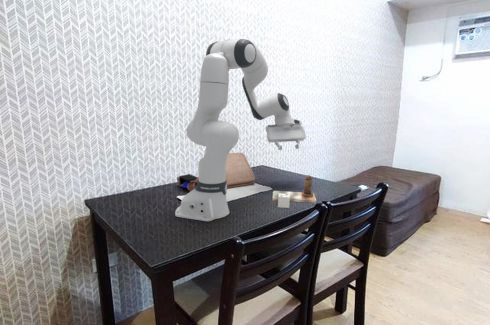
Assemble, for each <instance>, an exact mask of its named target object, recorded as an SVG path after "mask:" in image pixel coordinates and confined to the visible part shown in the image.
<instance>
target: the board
mask: <svg viewBox="0 0 490 325" xmlns="http://www.w3.org/2000/svg"><path fill="white" fill-rule="evenodd" d="M279 193H282V194H290V202H295V203H296V202H297V203H310V204H312V203H313V204H314V203H315V204H316V203H317V199H316V198H317V197H316V196H315V192H312V193H313V197H309V198H308V197H303V196H302V192H301V191H285V190H273V192H272V201H274V202H275V201H276V202H278V196H279Z"/></svg>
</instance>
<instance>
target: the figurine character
mask: <svg viewBox="0 0 490 325" xmlns="http://www.w3.org/2000/svg"><path fill="white" fill-rule="evenodd" d="M197 178H199V176H196V175H193V174H190V173H188V174H183V175H179V176H178V177H176V181H177V183H178V184H179V186H180V187H181V188H187V190H188V191H189V192H190V191H192V190H193V189H194V187H193V184H194V182H195V180H196V179H197Z"/></svg>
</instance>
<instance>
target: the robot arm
mask: <svg viewBox="0 0 490 325" xmlns="http://www.w3.org/2000/svg"><path fill="white" fill-rule="evenodd" d="M201 65H202V66H201V70H200V77H199V94H198V105H197V108H196V111H195V115H194V116H193V118H192V120H191V121H190V122H189V123H188V125H187V127H186V136H187V138H188V139H189V140H190V141H191V142H192V143H194V144H196V145H198V146H202V147H205V151H204V152H205V153H204V155H203V157H202V158H201V159H200V160H199V161H198V165H197V166H198V178H197V179H196V180H194V181H193V182H194V184H193V187H194V189H193V190H192V191H189V192H188V193H187V194H185V195H184V196H183V197H182V199H181V201H180V205H179V206H178V207H177V208H176V209H175V212H174V215H175V217H178V218H183V219H189V220H196V221H202V222H211V221H213V220H217V219H221V218H222V219H223V218H224V217H227V216H228V215H229V214H230V210H229V209H230V208H229V206H228V205H229V204H228V200H227V192H228V188H227V181H226V161H227V157H228V154H229V153H231V151H232V149H233V148H234V147H236V146H237V145H238V141H239V139H240V133H239V130H238V128H237V126H236V125H235V124H233V123H231V122H229V121H226V120H219V118H220V115H221V113H222V111H223V110H224V109H225V108H226V107H227V105H228V103H229V101H228V99H229V82H230V81H229V79H230V78H229V77H230V76H229V71H230V70H235V69H241V71H242V72H243V77H242V79H241V84H242V89H243V91H244V95H245V97H246V99H247V102H248V105H249V108H250V111H251V114H252V116H253V118H254V119H256V120H257V121H262V120H265V119H267V118H268V117H272V116H273V117H274V124H268V125H266V126H265V131H266V139H267V142H268V143H274V144H275V146H276V147H277V149H278V150H279V151H281V150H283V145H280V144H279V143H284V142H285V143H286V142H289V143H290V142H295V143H296V145H294V147H295V149H296V150H299V149H300V143H301V142H304V140H305V139H306V138H307V135H306V134H307V133H306V131H305V129H304V127H303V126H304V125H302V124H303V123H302V121H301V120H299V119H296V118H292V116H291V114H290V112H291V111H290V105H289V100H288V98H287V96H286V95H284V93H283V94H282V93H279V92H276V93H274V94H271V95H269V96H267V97H263V98H260V99H259V98H257V96H256V93H255V88H257V87H258V86H259V85H260V84H261V83H262V82H263V81H264V80H265V79H266V77H267V75H268V73H269V66H268V63H267V61H266V59H265V57H264V55H263V53H262V52H261V50H260V49H259V47H258V46H257V45H256V43H255V42H254V41H253V40H251V39H245V38H240V39H224V40H220V41H214V42H212V43H211V44H209V45H208V47H207V50H206V53H205V56H204V57H203V60H202V64H201Z"/></svg>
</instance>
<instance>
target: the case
mask: <svg viewBox="0 0 490 325" xmlns="http://www.w3.org/2000/svg"><path fill="white" fill-rule="evenodd" d="M255 180H256V176H255V174H254V171H253V170H252V166H251V165H250V163H249V161H248V159H247V157H246V155H245V154H244V153H243V152H229V154H228V157H227V161H226V181H227V189H230V188H231V189H232V188H236V187H237V188H238V187H243V186H244V187H245V186H249V185H254V184H255Z"/></svg>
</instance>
